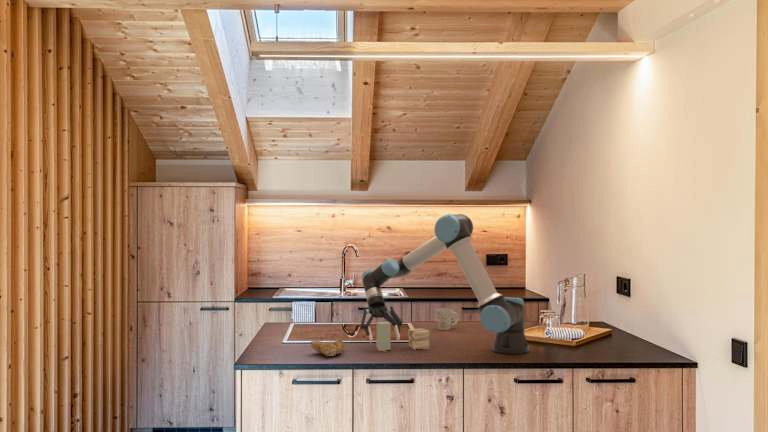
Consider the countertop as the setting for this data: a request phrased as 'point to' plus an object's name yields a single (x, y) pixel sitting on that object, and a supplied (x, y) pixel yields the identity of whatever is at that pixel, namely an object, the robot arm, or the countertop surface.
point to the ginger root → (328, 347)
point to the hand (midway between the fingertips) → (385, 340)
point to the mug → (445, 318)
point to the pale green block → (383, 335)
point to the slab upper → (418, 334)
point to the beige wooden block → (419, 344)
